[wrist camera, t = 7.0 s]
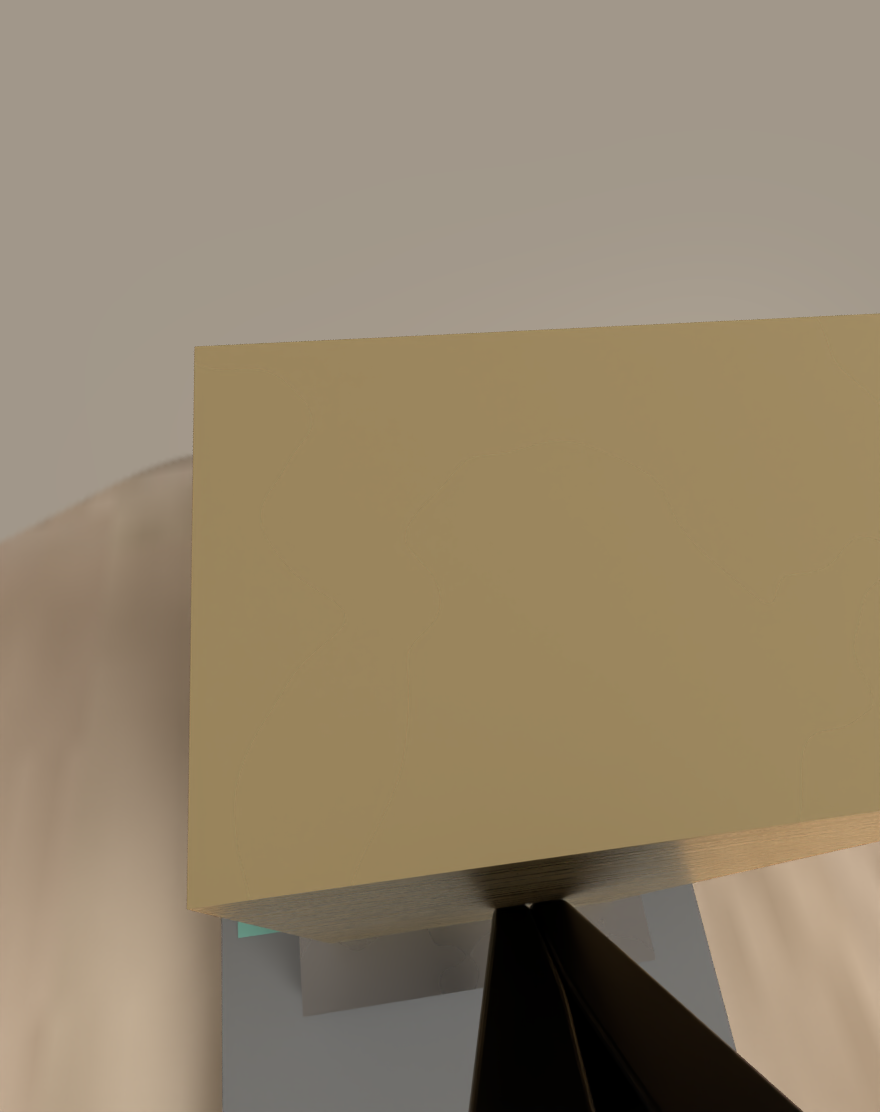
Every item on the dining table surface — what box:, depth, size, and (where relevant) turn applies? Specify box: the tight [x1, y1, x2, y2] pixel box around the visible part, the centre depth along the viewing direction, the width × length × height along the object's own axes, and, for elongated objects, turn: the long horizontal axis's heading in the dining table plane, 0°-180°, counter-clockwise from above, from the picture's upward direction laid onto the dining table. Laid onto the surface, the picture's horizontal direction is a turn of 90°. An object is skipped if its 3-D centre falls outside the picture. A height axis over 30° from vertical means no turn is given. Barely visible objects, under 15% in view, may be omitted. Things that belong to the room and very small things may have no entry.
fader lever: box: [187, 314, 880, 1017], centre depth 9 cm, size 5×6×12 cm
